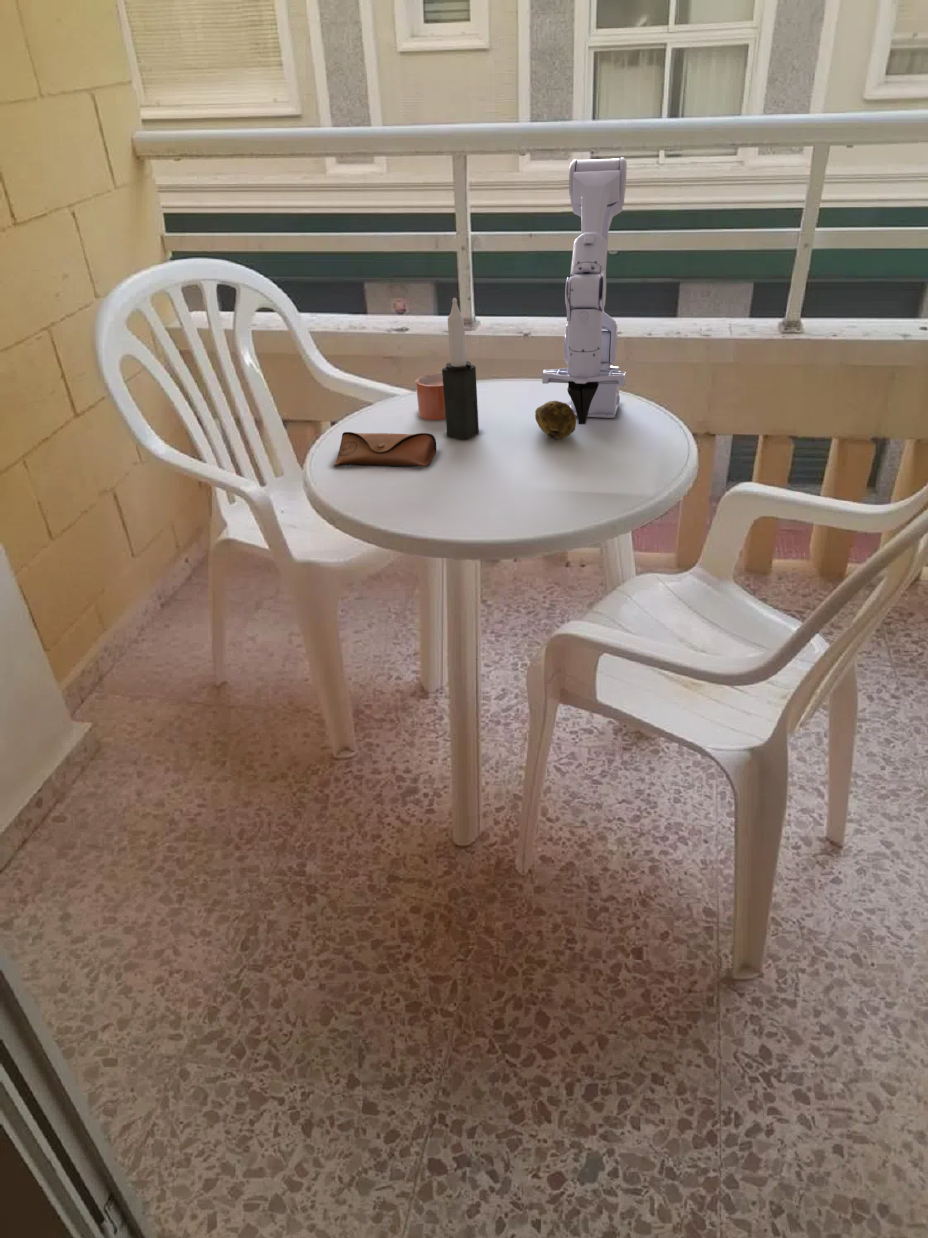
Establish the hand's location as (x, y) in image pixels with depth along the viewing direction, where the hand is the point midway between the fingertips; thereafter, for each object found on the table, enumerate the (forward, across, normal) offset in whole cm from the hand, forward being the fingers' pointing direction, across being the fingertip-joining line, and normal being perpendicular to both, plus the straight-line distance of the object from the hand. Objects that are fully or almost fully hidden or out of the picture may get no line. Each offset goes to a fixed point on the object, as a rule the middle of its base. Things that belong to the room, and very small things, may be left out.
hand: (582, 422), depth 150 cm
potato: (+4, -5, 0) cm, 6 cm away
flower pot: (+3, -31, +10) cm, 33 cm away
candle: (+4, -23, 0) cm, 23 cm away
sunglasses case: (+4, -34, -13) cm, 37 cm away
